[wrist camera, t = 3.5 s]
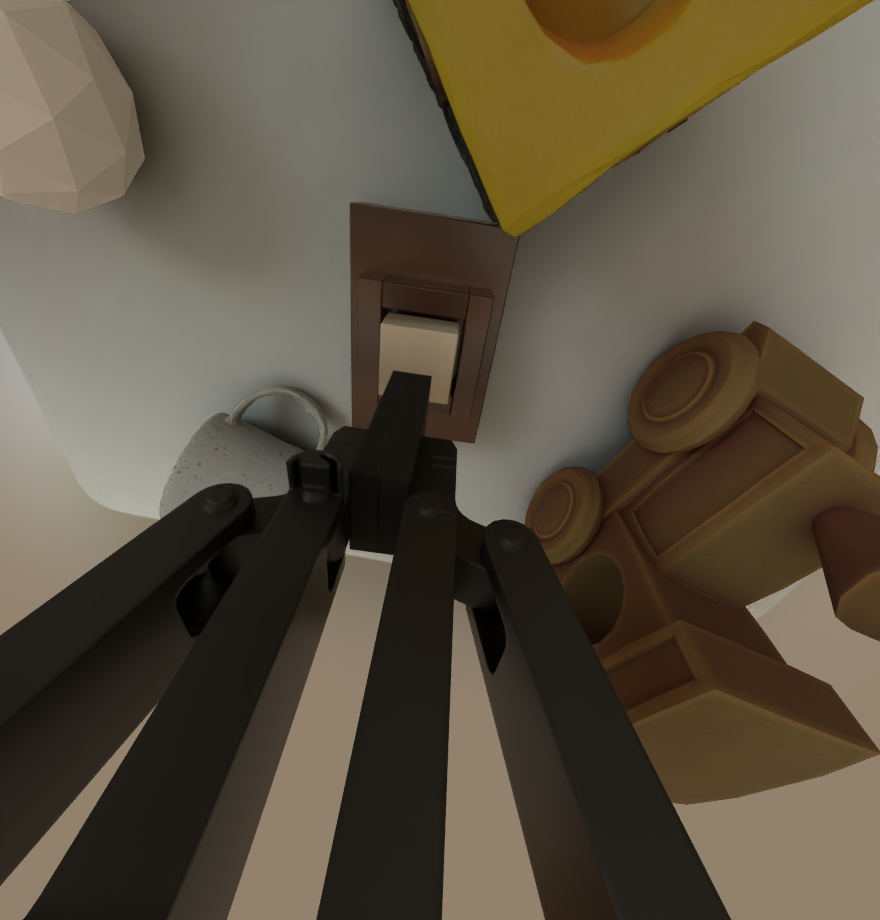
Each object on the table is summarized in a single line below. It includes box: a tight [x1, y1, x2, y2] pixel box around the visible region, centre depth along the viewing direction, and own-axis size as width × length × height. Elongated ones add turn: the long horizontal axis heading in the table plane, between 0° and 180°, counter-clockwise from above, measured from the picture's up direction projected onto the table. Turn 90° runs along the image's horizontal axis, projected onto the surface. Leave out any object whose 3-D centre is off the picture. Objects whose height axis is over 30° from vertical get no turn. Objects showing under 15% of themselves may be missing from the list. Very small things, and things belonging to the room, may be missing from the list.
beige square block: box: [378, 313, 459, 404], centre depth 19 cm, size 4×4×2 cm
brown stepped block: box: [350, 202, 520, 443], centre depth 21 cm, size 12×8×4 cm, turn 173°
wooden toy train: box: [525, 321, 880, 805], centre depth 20 cm, size 20×11×17 cm, turn 152°
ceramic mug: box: [160, 385, 328, 518], centre depth 25 cm, size 11×8×8 cm
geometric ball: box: [0, 0, 145, 214], centre depth 14 cm, size 8×8×8 cm
